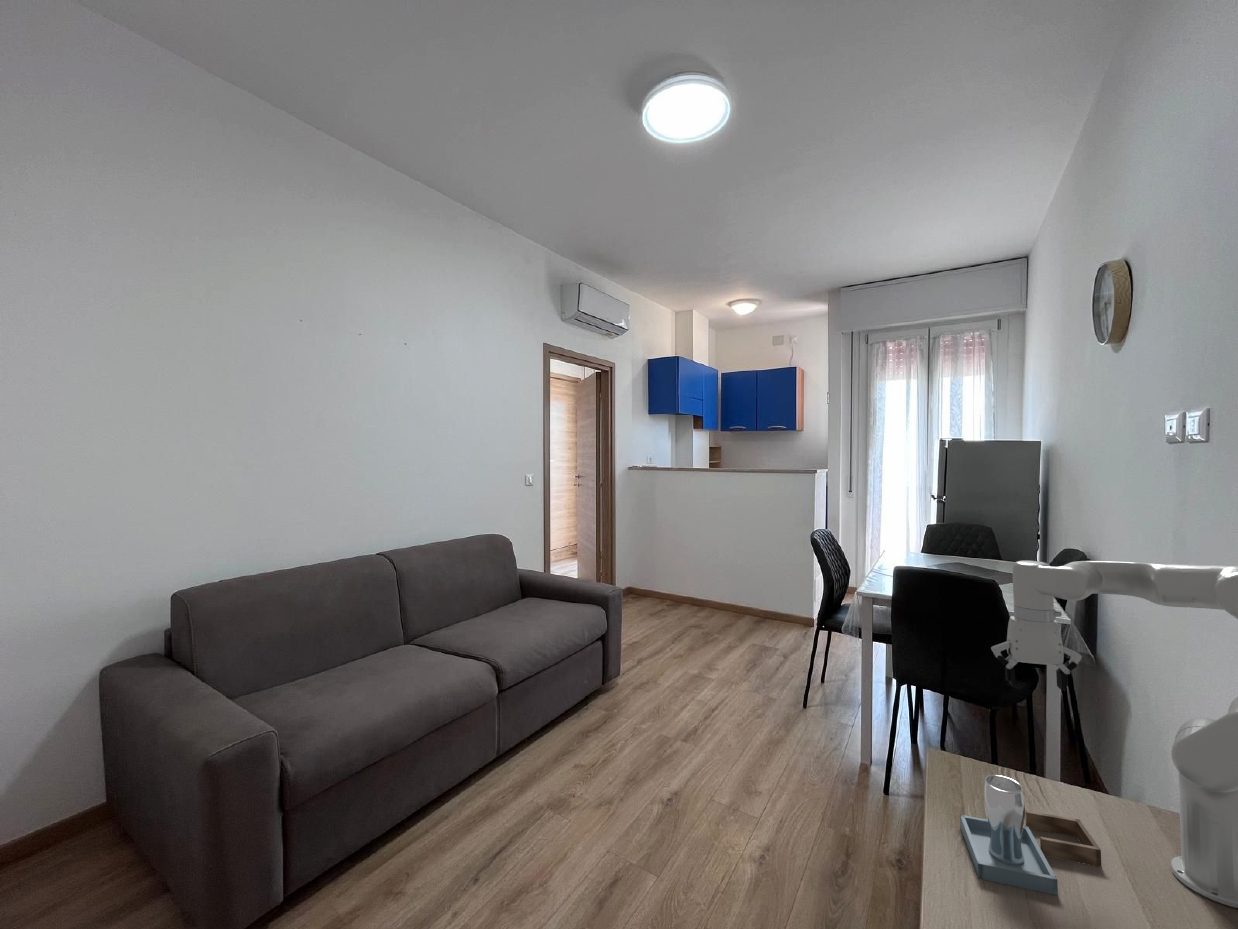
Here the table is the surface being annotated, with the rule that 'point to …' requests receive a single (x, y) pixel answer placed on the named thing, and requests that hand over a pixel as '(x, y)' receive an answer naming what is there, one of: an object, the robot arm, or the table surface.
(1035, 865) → the slate tray
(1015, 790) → the silver metal cup
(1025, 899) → the table surface
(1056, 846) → the walnut bay
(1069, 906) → the table surface
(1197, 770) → the robot arm
